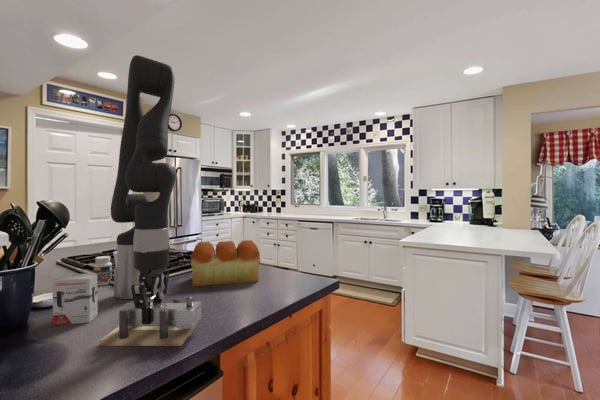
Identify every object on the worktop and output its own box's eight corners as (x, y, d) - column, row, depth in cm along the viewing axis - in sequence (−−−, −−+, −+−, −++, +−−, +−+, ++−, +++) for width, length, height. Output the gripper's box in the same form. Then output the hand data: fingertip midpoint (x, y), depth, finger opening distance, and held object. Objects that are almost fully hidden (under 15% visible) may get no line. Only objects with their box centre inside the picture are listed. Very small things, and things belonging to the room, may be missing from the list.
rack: (99, 345, 66) (99, 313, 66) (126, 325, 76) (126, 297, 76) (181, 345, 66) (181, 313, 66) (197, 326, 76) (197, 297, 76)
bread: (255, 273, 127) (256, 238, 127) (260, 281, 115) (260, 243, 115) (193, 277, 121) (193, 240, 120) (191, 286, 109) (190, 246, 108)
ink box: (51, 326, 76) (51, 279, 76) (62, 318, 81) (62, 274, 80) (90, 322, 78) (89, 277, 78) (98, 315, 83) (98, 272, 82)
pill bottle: (92, 287, 107) (92, 259, 107) (94, 282, 112) (94, 256, 112) (111, 284, 110) (111, 257, 110) (112, 280, 115) (112, 255, 115)
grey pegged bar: (115, 328, 68) (114, 301, 68) (130, 317, 74) (129, 293, 74) (192, 328, 68) (192, 302, 68) (201, 317, 74) (201, 293, 74)
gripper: (150, 242, 78) (151, 308, 78) (117, 253, 64) (118, 333, 64) (179, 242, 78) (180, 308, 78) (152, 253, 64) (153, 333, 64)
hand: (152, 319), depth 71 cm, fingers closed on grey pegged bar, 4 cm apart
